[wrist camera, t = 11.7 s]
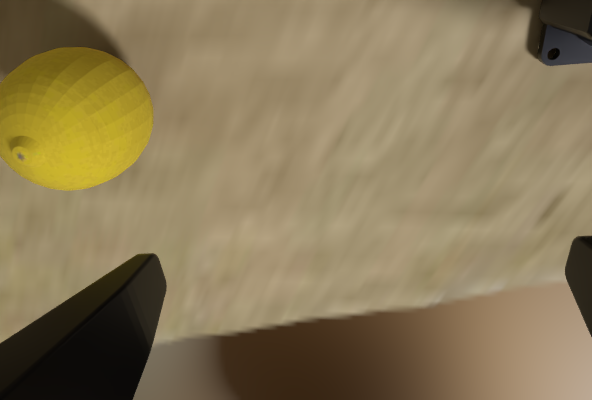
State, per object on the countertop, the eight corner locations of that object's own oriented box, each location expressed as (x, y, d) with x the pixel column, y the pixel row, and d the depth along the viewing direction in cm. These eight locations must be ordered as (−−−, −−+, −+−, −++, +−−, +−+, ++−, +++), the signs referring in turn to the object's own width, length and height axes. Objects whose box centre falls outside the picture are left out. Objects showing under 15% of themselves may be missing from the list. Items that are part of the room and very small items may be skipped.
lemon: (51, 34, 20) (-95, 75, 13) (164, 32, 20) (75, 73, 13) (83, 142, 23) (-23, 223, 16) (183, 142, 22) (118, 226, 15)
